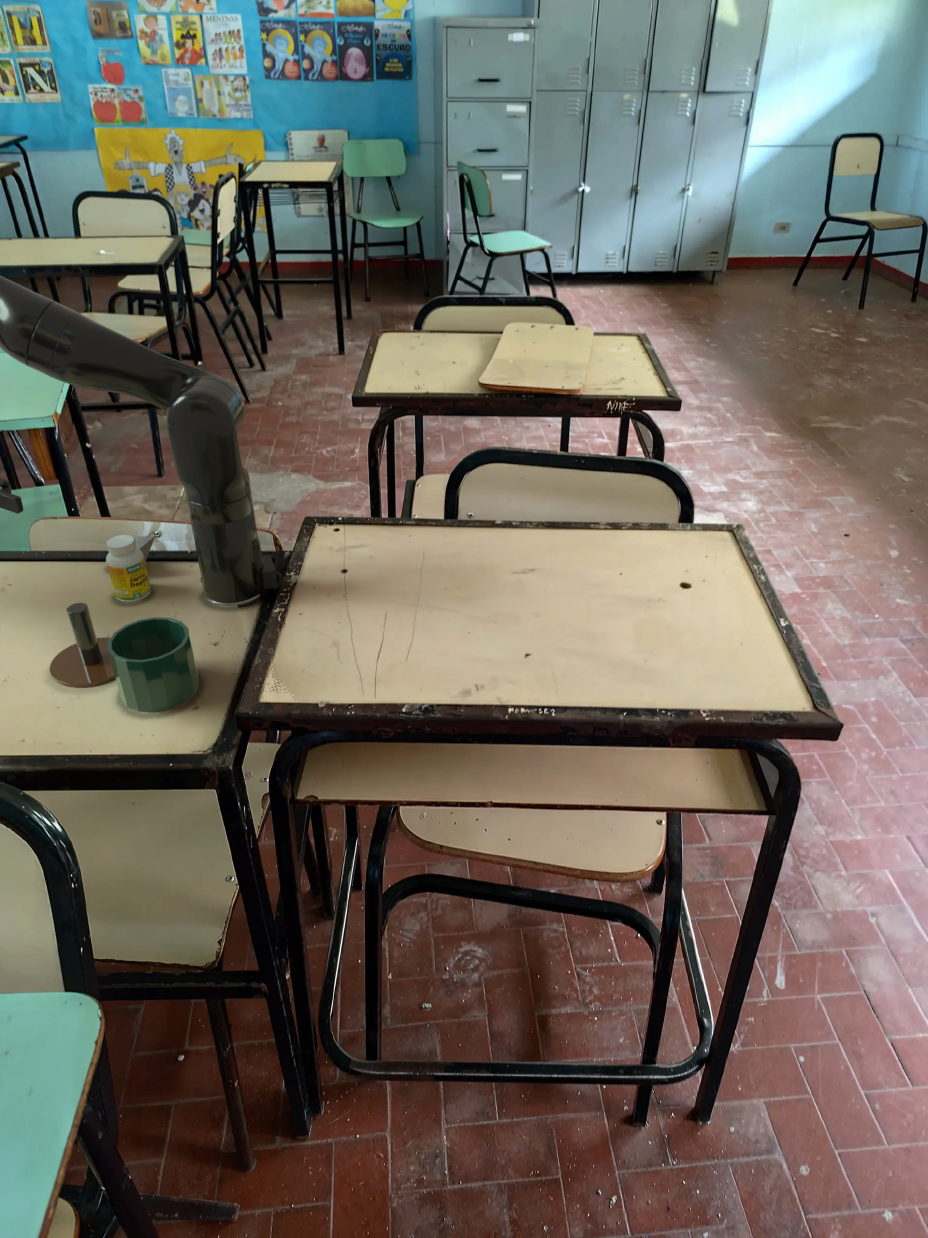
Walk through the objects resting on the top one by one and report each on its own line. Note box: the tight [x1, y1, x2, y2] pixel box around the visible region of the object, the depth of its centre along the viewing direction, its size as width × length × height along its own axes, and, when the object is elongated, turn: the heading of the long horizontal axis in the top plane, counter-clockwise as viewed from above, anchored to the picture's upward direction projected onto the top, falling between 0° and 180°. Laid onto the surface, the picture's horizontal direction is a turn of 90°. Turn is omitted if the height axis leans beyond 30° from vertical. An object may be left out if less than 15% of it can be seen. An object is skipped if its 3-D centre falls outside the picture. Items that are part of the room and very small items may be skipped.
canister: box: [108, 616, 200, 713], centre depth 110 cm, size 10×10×8 cm
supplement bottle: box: [105, 534, 152, 602], centre depth 129 cm, size 5×5×10 cm
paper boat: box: [134, 530, 157, 563], centre depth 138 cm, size 12×6×9 cm
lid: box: [49, 602, 116, 688], centre depth 114 cm, size 11×11×10 cm
